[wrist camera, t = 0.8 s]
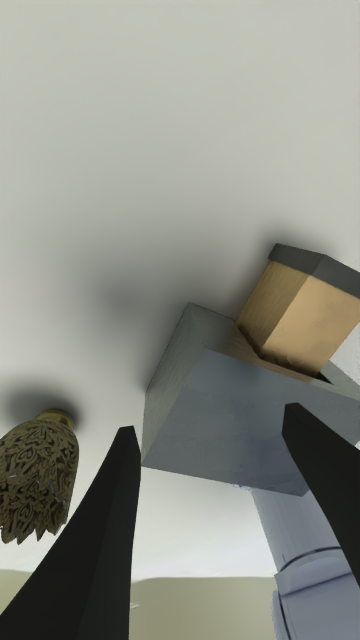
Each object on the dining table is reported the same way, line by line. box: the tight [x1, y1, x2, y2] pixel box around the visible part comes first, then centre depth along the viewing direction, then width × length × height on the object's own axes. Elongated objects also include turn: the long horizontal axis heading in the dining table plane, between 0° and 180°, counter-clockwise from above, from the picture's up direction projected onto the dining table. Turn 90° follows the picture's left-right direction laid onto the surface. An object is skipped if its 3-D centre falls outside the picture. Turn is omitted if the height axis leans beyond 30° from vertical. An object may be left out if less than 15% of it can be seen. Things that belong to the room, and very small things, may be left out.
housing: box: [141, 302, 360, 497], centre depth 19 cm, size 14×10×7 cm
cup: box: [0, 409, 79, 545], centre depth 19 cm, size 8×7×8 cm
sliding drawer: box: [235, 243, 360, 378], centre depth 17 cm, size 6×10×6 cm, turn 156°
